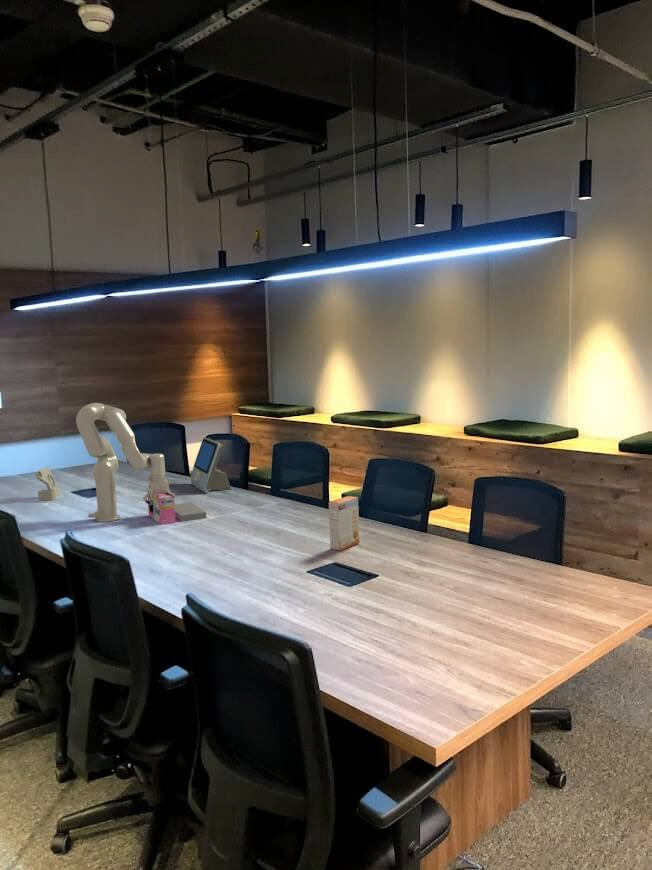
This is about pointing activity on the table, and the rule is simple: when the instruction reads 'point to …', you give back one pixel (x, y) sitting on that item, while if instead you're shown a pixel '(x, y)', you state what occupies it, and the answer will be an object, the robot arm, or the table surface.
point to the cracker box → (344, 523)
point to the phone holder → (51, 485)
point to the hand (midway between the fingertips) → (160, 511)
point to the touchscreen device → (209, 468)
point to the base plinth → (188, 512)
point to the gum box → (163, 508)
